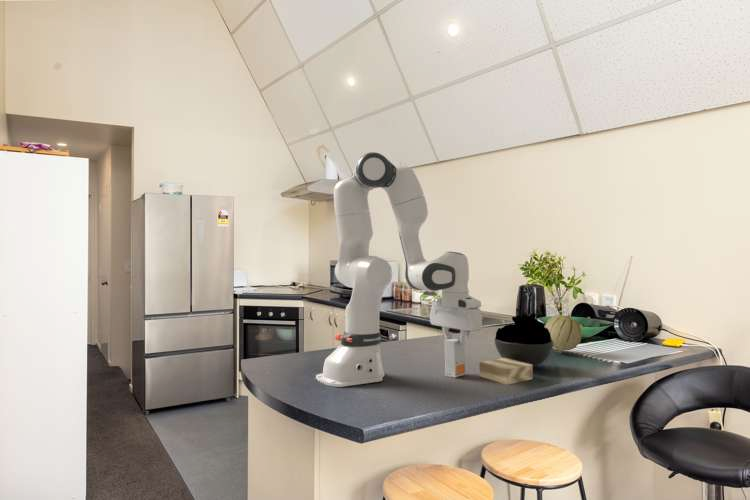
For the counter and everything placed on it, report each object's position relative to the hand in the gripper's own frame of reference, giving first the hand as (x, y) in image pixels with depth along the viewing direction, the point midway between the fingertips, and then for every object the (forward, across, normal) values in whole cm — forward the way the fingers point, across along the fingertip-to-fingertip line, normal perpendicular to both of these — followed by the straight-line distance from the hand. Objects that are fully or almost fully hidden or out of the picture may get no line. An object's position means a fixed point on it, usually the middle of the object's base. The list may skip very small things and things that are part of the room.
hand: (454, 341), depth 162 cm
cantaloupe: (+10, +2, +66) cm, 66 cm away
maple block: (+11, +12, +12) cm, 20 cm away
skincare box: (+11, 0, 0) cm, 11 cm away
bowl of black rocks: (+11, +8, +28) cm, 31 cm away
